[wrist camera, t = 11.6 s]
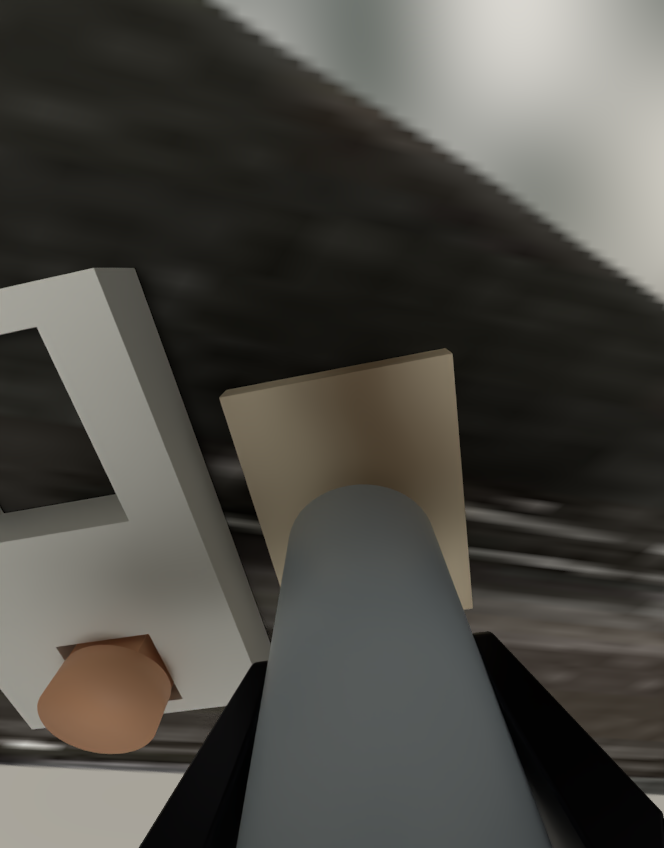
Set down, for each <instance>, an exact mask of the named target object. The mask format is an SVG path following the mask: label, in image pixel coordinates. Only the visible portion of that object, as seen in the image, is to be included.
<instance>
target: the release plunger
mask: <svg viewBox="0 0 664 848" xmlns="http://www.w3.org/2000/svg"><path fill="white" fill-rule="evenodd" d="M173 683H174V681H173V679H172V677H171V676H170V674H169V672H168V670H167V668H166V666H165V664H164V662H163V660H162V658H161V656H160V654H159V653H158V651H157V649H156V647H155V645H154V643H153V641H152V639H151V637H150V635H149V634H145V635H138V636H131V637H123V638H116V639H109V640H102V641H95V642H88V643H81V644H77V645H76V646H75V648H74V649H73V651H72V652H71V653H70V655H69V656H68V657H67V659H66V660H65V661H64V663H63V664H62V666H61V667H60V668H59V670H58V671H57V673H56V674H55V676H54V677H53V679H52V680H51V682H50V683H49V684H48V686H47V687H46V689H45V690H44V692H43V693H42V695H41V696H40V698H39V700H38V704H37V711H38V715H39V718H40V720H41V722H42V723H43V725H44V726H45V727H46V728H47V729H48V730H49V731H50V732H51V733H52V734H53V735H54V736H56V737H57V738H59V739H60V740H62V741H64V742H65V743H67V744H69V745H72V746H74V747H77V748H79V749H83V750H86V751H90V752H95V753H103V754H121V753H127V752H131V751H135V750H137V749H140V748H142V747H144V746H145V745H147V744H148V743H149V742H150V741H151V740H152V739H153V738H154V736H155V734H156V731H157V729H158V726H159V724H160V721H161V718H162V716H163V713H164V711H165V708H166V705H167V703H168V700H169V698H170V695H171V689H172V686H173Z"/></svg>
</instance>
